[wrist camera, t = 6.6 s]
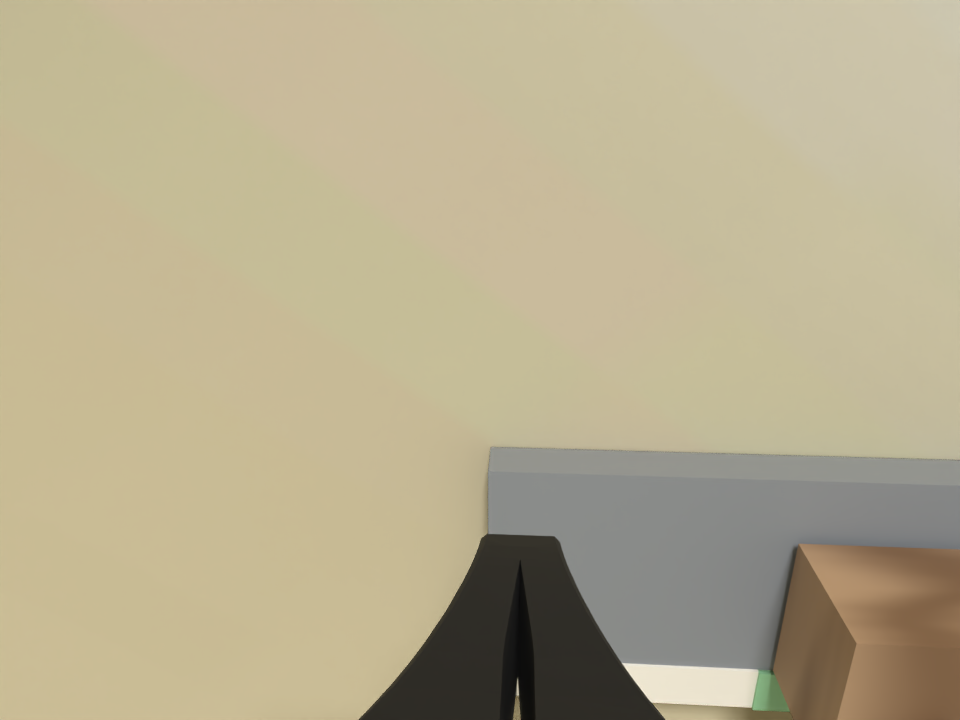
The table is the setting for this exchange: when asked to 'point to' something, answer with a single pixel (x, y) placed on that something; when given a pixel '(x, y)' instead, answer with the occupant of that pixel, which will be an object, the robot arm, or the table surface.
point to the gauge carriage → (871, 634)
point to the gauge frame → (709, 547)
